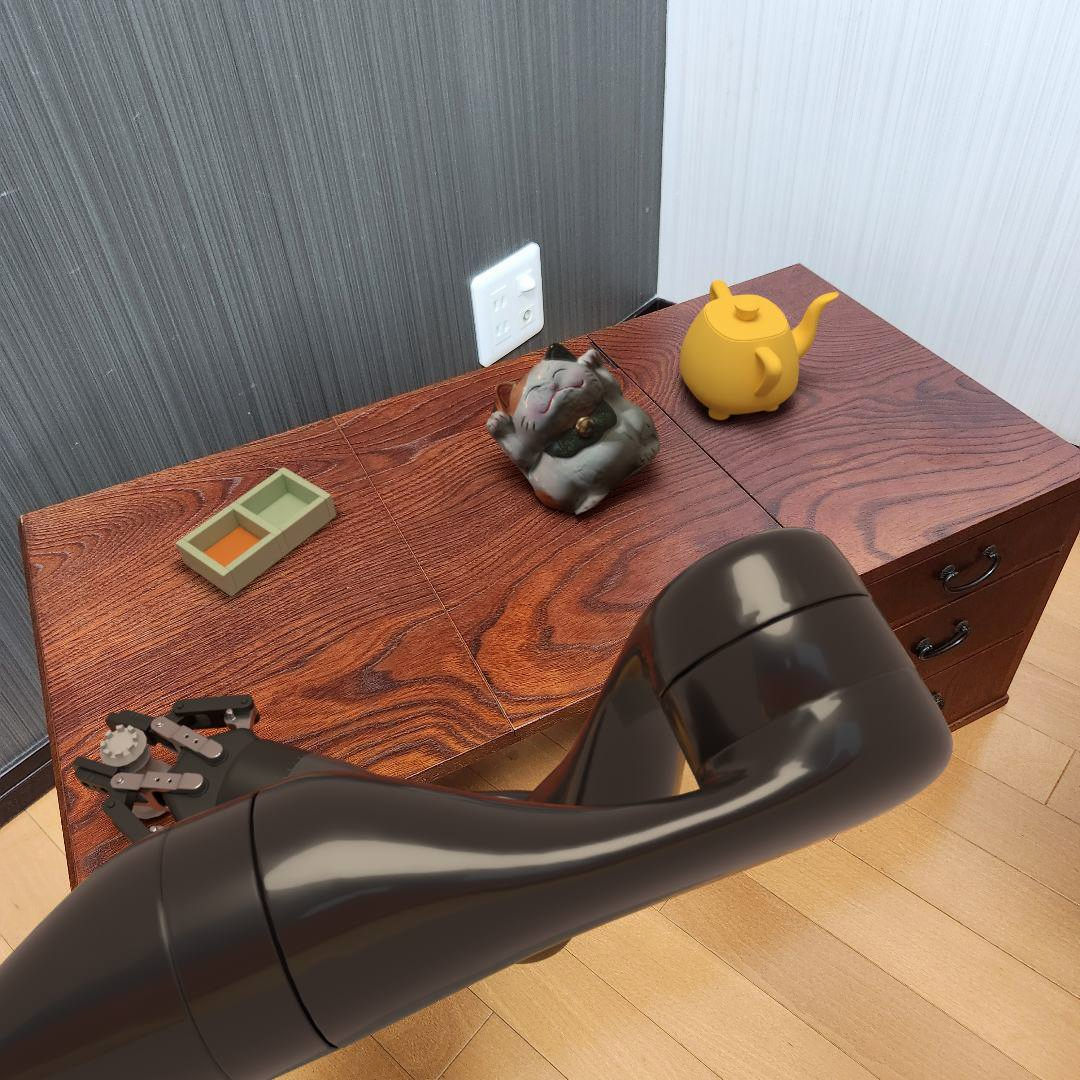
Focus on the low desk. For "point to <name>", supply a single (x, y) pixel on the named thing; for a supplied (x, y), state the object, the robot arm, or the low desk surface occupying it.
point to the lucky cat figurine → (571, 429)
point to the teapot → (745, 352)
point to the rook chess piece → (131, 759)
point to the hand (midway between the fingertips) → (95, 744)
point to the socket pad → (256, 530)
